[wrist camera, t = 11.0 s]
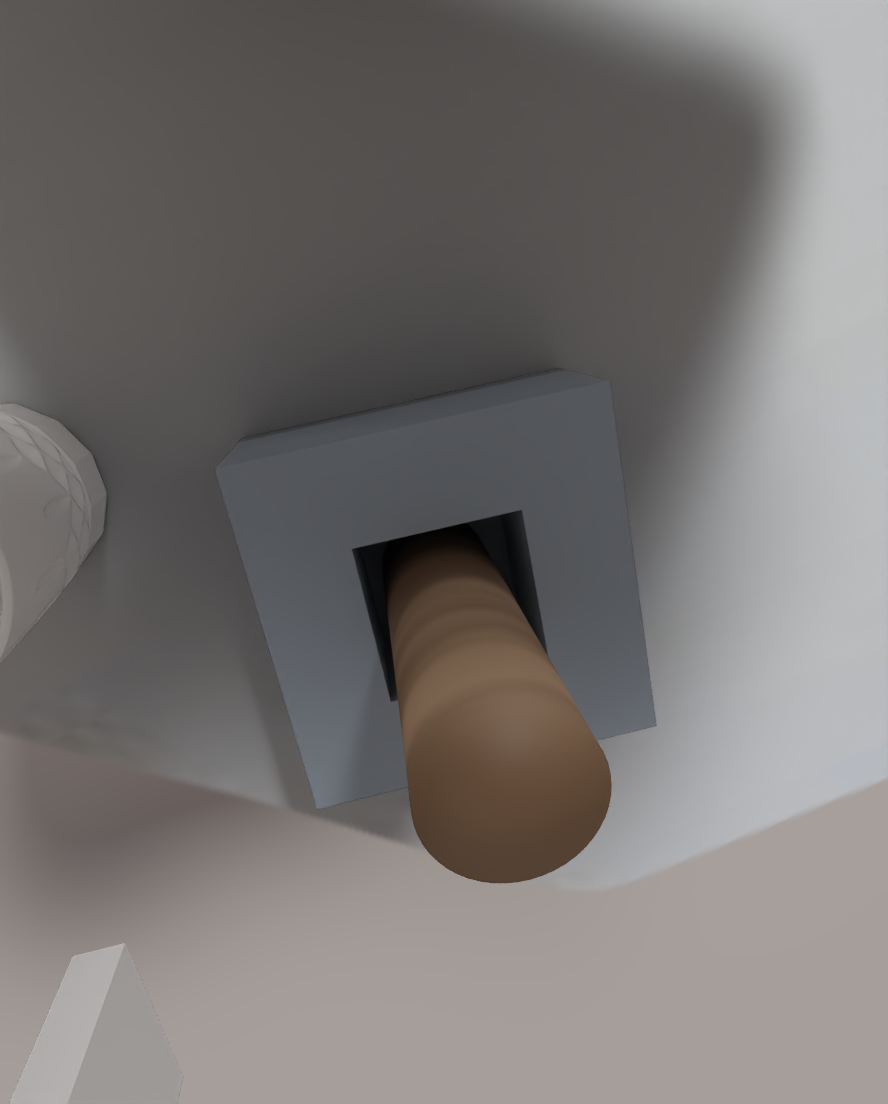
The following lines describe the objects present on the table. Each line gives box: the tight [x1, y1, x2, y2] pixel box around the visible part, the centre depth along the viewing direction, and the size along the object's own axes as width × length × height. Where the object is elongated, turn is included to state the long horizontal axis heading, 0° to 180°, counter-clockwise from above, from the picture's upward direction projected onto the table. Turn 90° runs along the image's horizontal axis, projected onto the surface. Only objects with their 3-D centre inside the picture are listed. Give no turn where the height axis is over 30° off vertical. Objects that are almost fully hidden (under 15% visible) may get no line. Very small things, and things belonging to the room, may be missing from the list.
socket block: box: [214, 368, 656, 809], centre depth 27 cm, size 12×12×6 cm
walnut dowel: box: [382, 523, 611, 883], centre depth 22 cm, size 4×4×15 cm
